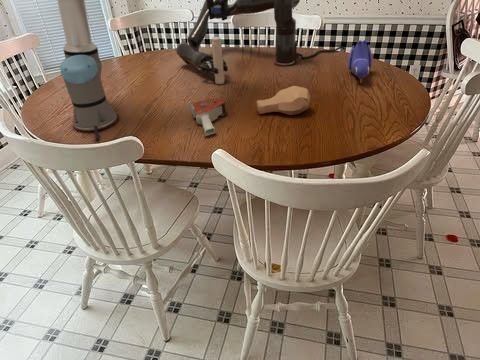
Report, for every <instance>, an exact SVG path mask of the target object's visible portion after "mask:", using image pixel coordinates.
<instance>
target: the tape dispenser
mask: <svg viewBox="0 0 480 360" xmlns="http://www.w3.org/2000/svg"><path fill="white" fill-rule="evenodd" d="M207 103H213V104H210V105H208V106H206V104H207ZM188 106H189V111H190V113H191V114H192V116H193V118H194V119H195V120H196V123H197V124H198V125H202V128H203V134H204V136H205V137H206V136H207V137H208V136H211V135H214V134H215V133H216V127H214V125H213V123H212V122H213V121H216V120H217V119H218V117H219V116H220V117H221V116H224V115H225V114H226V103H225V100H224V98H223V97H215V98H210V99H205V100H199V101H189V102H188Z"/></svg>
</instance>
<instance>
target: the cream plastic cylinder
mask: <svg viewBox="0 0 480 360" xmlns="http://www.w3.org/2000/svg"><path fill="white" fill-rule="evenodd" d="M211 52H212V57H213V64H214V67H215V68H217V69H218V74H215V73H213V74H214V82H215V84H216V85H223V84H225V71H224V69H223V60H224V59H223V46H222V40H221V37H220V36H213V37H212V38H211Z"/></svg>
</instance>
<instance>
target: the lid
mask: <svg viewBox="0 0 480 360" xmlns="http://www.w3.org/2000/svg"><path fill="white" fill-rule="evenodd" d="M211 13H214V14H218V13H221V5H216V6H212V7H211Z"/></svg>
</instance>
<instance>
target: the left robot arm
mask: <svg viewBox="0 0 480 360" xmlns="http://www.w3.org/2000/svg"><path fill="white" fill-rule="evenodd" d="M56 1H57V6H58V10H59V14H60V20H61V23H62V28H63V33H64V37H65V45H64V46H63V47H62V48H63V54H64V58H65V59H63V60H61V62H60V64H59V69H60V75H61V77H62V79H63V82H64V84H65V87H66V90H67V93H68V95H69V99H70V101H71V104H72V108H73V114H72V117H73V118H72V119H73V125H74V128H75V129H76V131H78V132H84V133H92V132H94V136H95V141H98V140H99V133H98V132H99V131H102V130H105V129H107V128H110V127H111V126H113V125H115V124H116V122H117V121H118V116H117V113H116V111H115V110H114V108H113V107H112V105H111V103H110V102H109V101H108V99H107V96H106V92H105V89H104V87H103V86H104V85H103V83H102V61H101V59H100V55H99V49H98V45H96V44H95V43H94V42H93V39H92V34H91V29H90V24H89V17H88V13H87V7H86V0H56ZM206 1H207V9H208V10H209V20H214V19H216V18H215V14H214V13H211V7H212V6H214V0H206ZM228 5H229V0H222V1H221V16H222V18H221V21H226V20H228V17H227V10H228Z"/></svg>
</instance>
